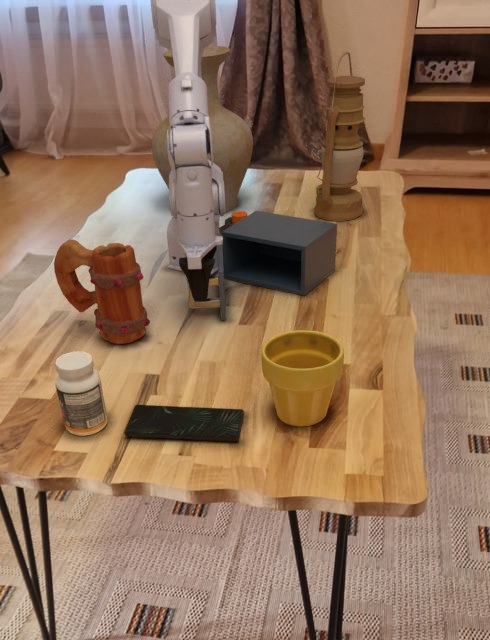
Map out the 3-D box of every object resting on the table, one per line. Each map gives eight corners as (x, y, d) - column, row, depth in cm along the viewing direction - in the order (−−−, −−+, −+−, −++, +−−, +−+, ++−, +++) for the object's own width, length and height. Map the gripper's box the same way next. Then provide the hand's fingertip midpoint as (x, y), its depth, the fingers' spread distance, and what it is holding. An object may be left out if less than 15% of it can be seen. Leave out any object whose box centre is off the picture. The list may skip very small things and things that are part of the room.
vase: (254, 219, 156) (251, 58, 137) (153, 223, 157) (135, 63, 138) (253, 187, 173) (250, 39, 154) (162, 191, 174) (147, 45, 154)
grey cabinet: (304, 296, 126) (305, 246, 120) (223, 278, 133) (221, 231, 127) (335, 270, 133) (337, 223, 128) (257, 255, 141) (256, 210, 135)
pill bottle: (67, 415, 100) (52, 350, 93) (109, 412, 100) (97, 347, 94) (63, 439, 95) (48, 373, 89) (107, 435, 96) (94, 369, 89)
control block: (212, 237, 149) (211, 222, 147) (230, 226, 154) (230, 212, 152) (250, 244, 145) (249, 229, 143) (267, 233, 150) (267, 218, 148)
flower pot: (287, 444, 92) (288, 377, 86) (248, 406, 99) (246, 342, 93) (355, 421, 96) (360, 354, 89) (313, 386, 103) (315, 322, 97)
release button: (228, 223, 147) (228, 215, 146) (237, 218, 149) (236, 210, 148) (242, 226, 146) (242, 217, 145) (250, 221, 148) (250, 212, 147)
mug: (161, 328, 119) (150, 236, 109) (140, 352, 113) (127, 257, 103) (82, 319, 123) (64, 229, 113) (58, 341, 117) (37, 249, 107)
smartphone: (238, 437, 92) (123, 432, 94) (238, 444, 93) (124, 438, 95) (244, 408, 97) (135, 403, 99) (244, 414, 98) (135, 409, 100)
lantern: (318, 200, 164) (323, 45, 144) (365, 201, 162) (376, 44, 142) (309, 224, 152) (313, 58, 133) (359, 225, 150) (371, 58, 131)
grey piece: (190, 322, 120) (186, 273, 114) (191, 280, 132) (187, 235, 127) (226, 320, 120) (223, 271, 114) (224, 279, 132) (221, 233, 127)
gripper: (218, 226, 106) (223, 313, 114) (223, 194, 117) (227, 276, 125) (170, 227, 106) (179, 314, 115) (179, 196, 117) (186, 277, 126)
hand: (201, 294), depth 120 cm, fingers open, 4 cm apart
